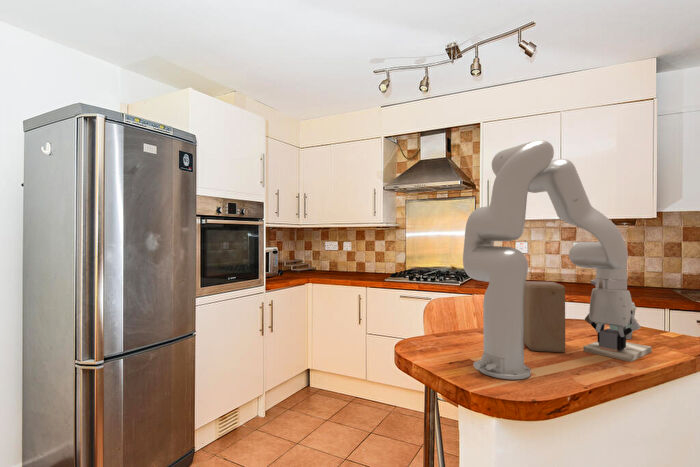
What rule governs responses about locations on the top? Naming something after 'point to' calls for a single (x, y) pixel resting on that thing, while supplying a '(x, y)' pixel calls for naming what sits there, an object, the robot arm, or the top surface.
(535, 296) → the wooden block
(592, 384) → the top surface
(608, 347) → the block
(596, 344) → the board
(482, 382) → the top surface
